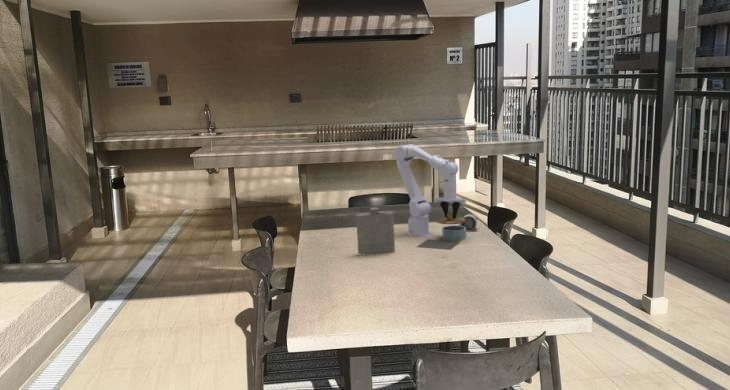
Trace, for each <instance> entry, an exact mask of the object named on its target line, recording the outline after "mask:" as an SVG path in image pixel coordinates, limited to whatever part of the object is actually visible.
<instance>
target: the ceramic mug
mask: <svg viewBox="0 0 730 390" xmlns="http://www.w3.org/2000/svg"><path fill="white" fill-rule="evenodd" d="M462 218H463V219H465V222H464V223H460V224H456V226H464V227H466V232H473V231H475V229H476V227H477V223H478V220H477V217H476V216H475V215H473V214H465V215H464V216H463V217H462Z"/></svg>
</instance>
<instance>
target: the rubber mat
mask: <svg viewBox="0 0 730 390" xmlns="http://www.w3.org/2000/svg"><path fill="white" fill-rule="evenodd" d="M460 243H461V241H458V240H445V239H444V240H443V239H442V240H441V239H440V240H439V239H430V238H429V239H427V240H425V241H423V242H422V243H420V244H418V245H417V246H416V248H424V249H435V250H436V249H437V250H446V251H447V250H450V251H451V250H452V249H454V248H455V247H457V246H458V245H459V244H460Z"/></svg>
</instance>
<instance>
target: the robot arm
mask: <svg viewBox="0 0 730 390" xmlns="http://www.w3.org/2000/svg"><path fill="white" fill-rule="evenodd" d="M394 155H395V158H396V166H397V169H398V172H399V174H400V177H401V179H402V182H403V184H404V187H405V189H406V191H407V193H408V197H409V199H410V201H408V202H409V203H408V207H409V213H410V215H411V216H409V218H408V221H407V227H408V230H407V231H408V232H407V233H408V234H407V236H411V237H428V236H430V235H431V234H432V233H433V232H432V231H430V225H429V215H430V213H431V211H432V206H431V204H430V203H429V202H428V200H427V198H426V197H424V196H423V195H422V194H421V191H420V189H419V185H418V183H417V181H416V178H415V176H414V174H413V172H412V169H411V166H410V165H411V162H412V161H413V160H414V158H415V157H416V158H418V159H420V160H422V161H425V162H427V163H428V164H429V167H431V168H433V169H435V170H437V171H439V172H440V173H441V176H442V179H443V181H442V182H443V197H434V203H440V205H439V206H440V207H441V209H442V212H443V213H444V218H447V213H449V205H450V204H451V207H452V213H453V219H455V218H457V215H458V211H459V209H460V206H461V204H463V205H465V204H466V203H467V198H460V197H457V173H458V171H459V166H458V164H457V163H456V162H455V161H450V162H449V160H448V159H444V158H443V157H441V155H439V154H436V155H431V154H429V153H428V152H426V151H425V150H423V149H421V147H419V146H418V145H415V144H414V143H409V144H405V145H404V144H403V145H399V146H397V147H396V149H395V152H394ZM449 203H450V204H449Z"/></svg>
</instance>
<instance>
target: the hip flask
mask: <svg viewBox="0 0 730 390" xmlns="http://www.w3.org/2000/svg"><path fill="white" fill-rule="evenodd" d="M369 210H370V212H369V213H359V214H356V215H355V218H356V232H357V233H356V234H357V235H356V237H357V251H358V254H361V255H362V256H364V255H363V254H371V255H377V254H384V253H385V254H391V253H395V252H396V250H395V249H396V244H395V226H394V225H395V223H394V222H395V221H394V212H392V211H391V212H390V211H387V212H386V211H379V207H370V209H369ZM376 253H377V254H376ZM358 254H357V255H358ZM361 255H360V256H361Z"/></svg>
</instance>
